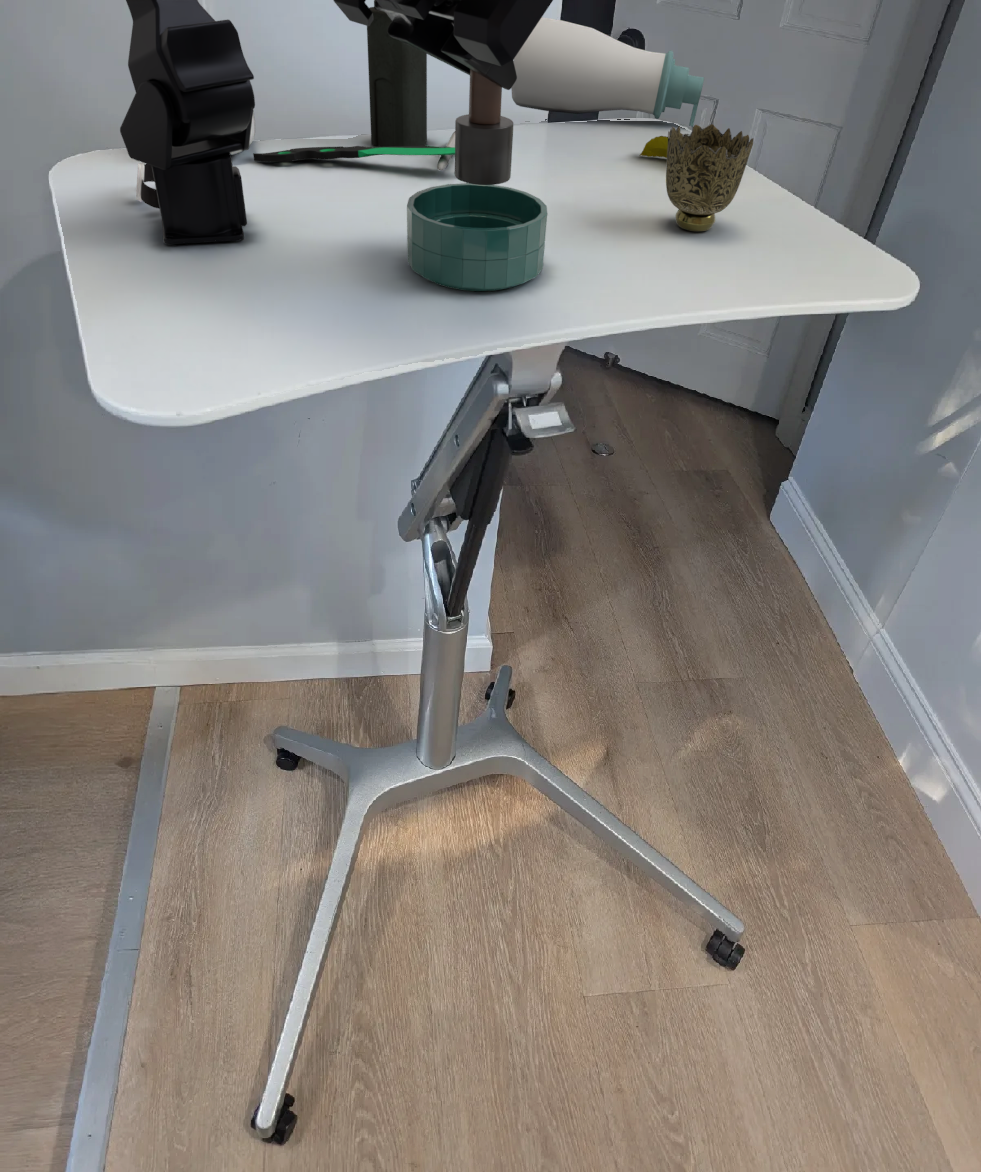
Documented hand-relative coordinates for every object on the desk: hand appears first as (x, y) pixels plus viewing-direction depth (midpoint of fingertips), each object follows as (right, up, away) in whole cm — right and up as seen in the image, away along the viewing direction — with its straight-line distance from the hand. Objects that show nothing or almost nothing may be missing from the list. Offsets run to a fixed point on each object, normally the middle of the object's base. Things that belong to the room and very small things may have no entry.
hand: (500, 80), depth 67 cm
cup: (+18, -4, +17) cm, 25 cm away
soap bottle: (+2, +27, +44) cm, 52 cm away
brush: (-1, -5, +4) cm, 7 cm away
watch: (-31, -3, +16) cm, 35 cm away
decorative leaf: (+20, +8, +32) cm, 38 cm away
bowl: (-2, -11, +7) cm, 14 cm away
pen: (-5, +8, +29) cm, 31 cm away
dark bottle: (-11, +12, +33) cm, 37 cm away
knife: (-14, +5, +23) cm, 27 cm away
